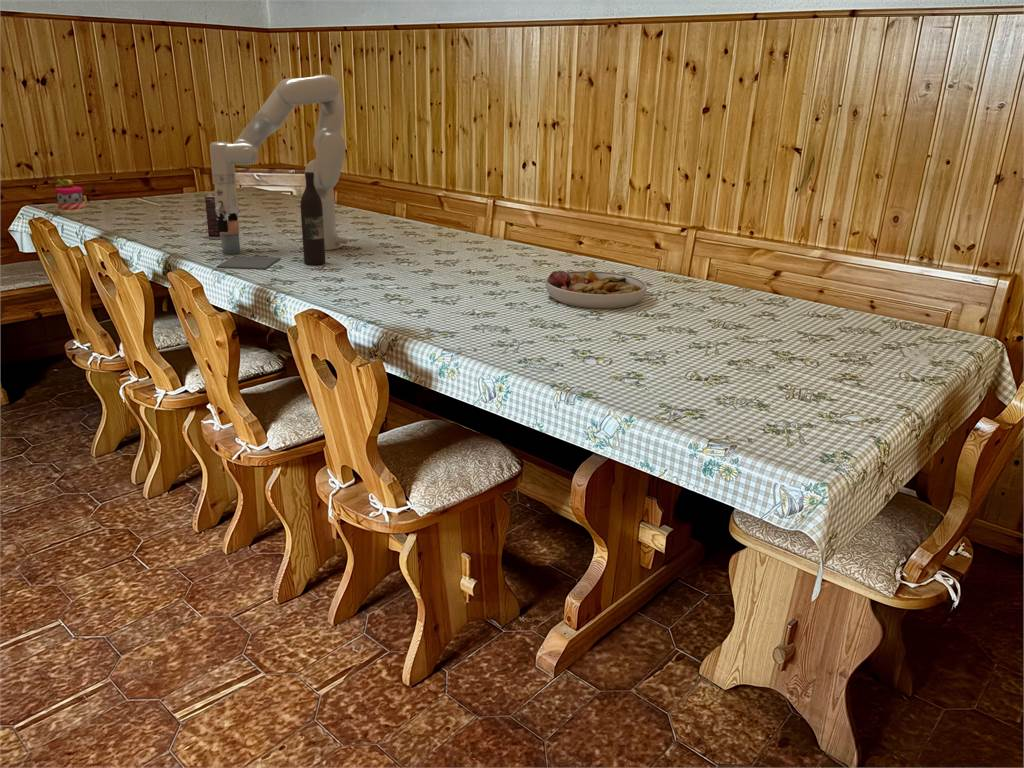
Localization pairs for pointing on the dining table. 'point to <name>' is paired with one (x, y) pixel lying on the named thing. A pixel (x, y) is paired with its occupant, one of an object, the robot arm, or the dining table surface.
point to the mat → (249, 262)
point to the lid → (232, 227)
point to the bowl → (595, 289)
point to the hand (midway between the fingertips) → (228, 229)
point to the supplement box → (212, 218)
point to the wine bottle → (312, 224)
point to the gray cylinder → (230, 244)
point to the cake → (69, 198)
